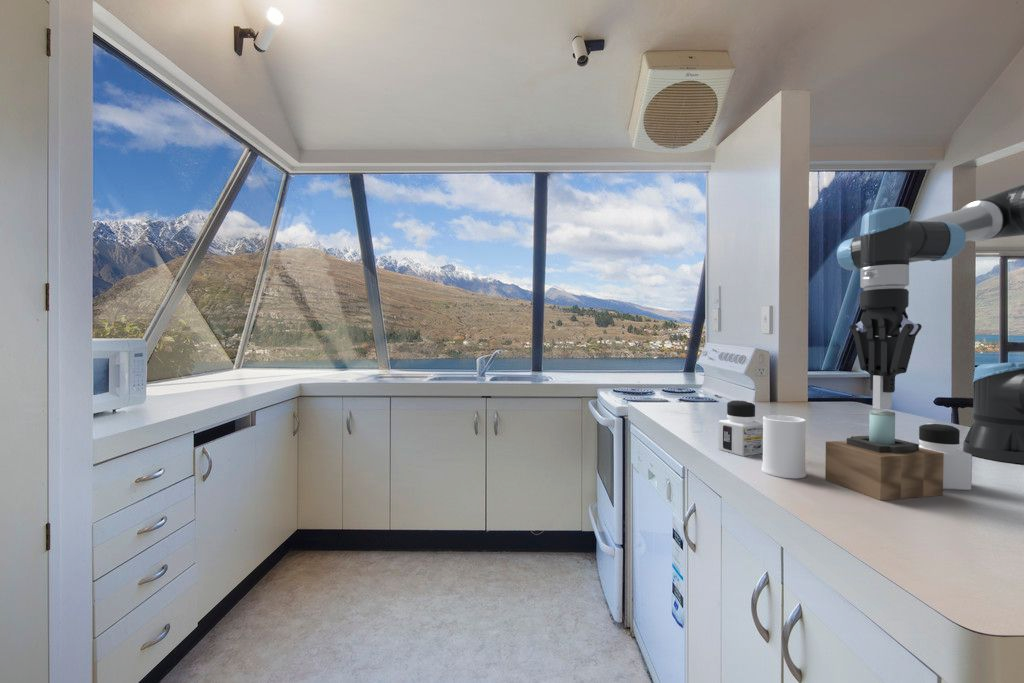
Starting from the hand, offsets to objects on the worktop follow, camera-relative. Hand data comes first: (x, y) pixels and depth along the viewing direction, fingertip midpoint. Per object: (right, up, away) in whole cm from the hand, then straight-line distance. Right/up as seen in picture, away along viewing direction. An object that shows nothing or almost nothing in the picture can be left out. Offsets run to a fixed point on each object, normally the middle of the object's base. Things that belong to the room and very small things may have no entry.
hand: (882, 408), depth 92 cm
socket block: (0, -16, 0) cm, 16 cm away
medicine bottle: (+13, -16, +2) cm, 21 cm away
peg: (0, -10, 0) cm, 10 cm away
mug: (-13, -16, +11) cm, 23 cm away
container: (-14, -15, +28) cm, 35 cm away
